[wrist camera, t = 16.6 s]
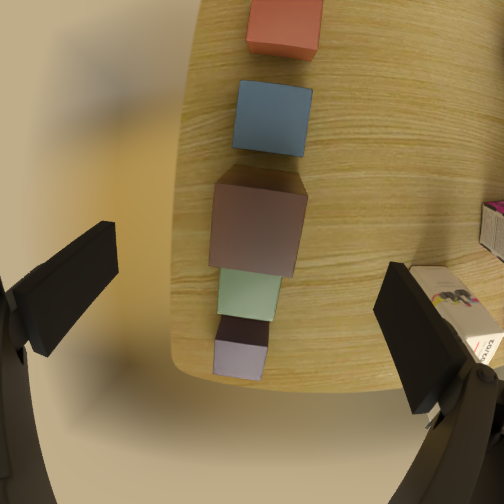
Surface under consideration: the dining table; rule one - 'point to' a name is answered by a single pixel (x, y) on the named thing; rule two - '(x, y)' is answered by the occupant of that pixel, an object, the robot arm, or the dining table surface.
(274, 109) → the block
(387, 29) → the dining table surface
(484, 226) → the candy bar box
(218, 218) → the walnut block
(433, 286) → the ink box
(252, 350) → the block
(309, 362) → the dining table surface
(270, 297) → the block
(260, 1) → the block
